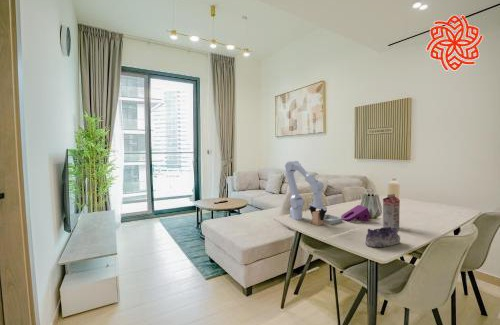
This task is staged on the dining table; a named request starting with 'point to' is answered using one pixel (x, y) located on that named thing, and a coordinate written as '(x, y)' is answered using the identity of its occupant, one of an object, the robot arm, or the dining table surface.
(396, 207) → the juice carton
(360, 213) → the mounting bracket
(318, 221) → the salmon brown block
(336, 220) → the bin
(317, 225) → the stud plate
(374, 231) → the geode
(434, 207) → the dining table surface
